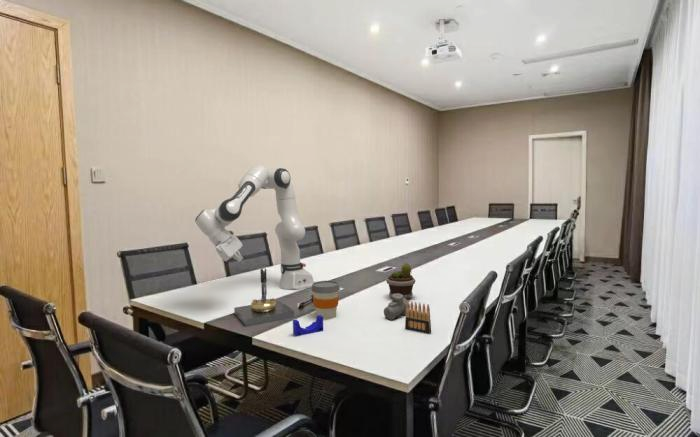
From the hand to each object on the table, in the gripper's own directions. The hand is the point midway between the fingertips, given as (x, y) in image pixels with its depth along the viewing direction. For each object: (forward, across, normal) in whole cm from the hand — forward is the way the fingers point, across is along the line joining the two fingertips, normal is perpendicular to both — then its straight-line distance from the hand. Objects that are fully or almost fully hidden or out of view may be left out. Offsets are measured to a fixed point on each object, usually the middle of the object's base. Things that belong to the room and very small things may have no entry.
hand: (241, 260), depth 191 cm
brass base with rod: (+23, -11, +2) cm, 25 cm away
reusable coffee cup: (+43, -16, -20) cm, 50 cm away
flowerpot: (+69, +12, -47) cm, 84 cm away
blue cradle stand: (+38, -35, -17) cm, 54 cm away
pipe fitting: (+62, -17, -45) cm, 79 cm away
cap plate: (+25, -15, +3) cm, 30 cm away
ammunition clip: (+65, -35, -53) cm, 91 cm away
